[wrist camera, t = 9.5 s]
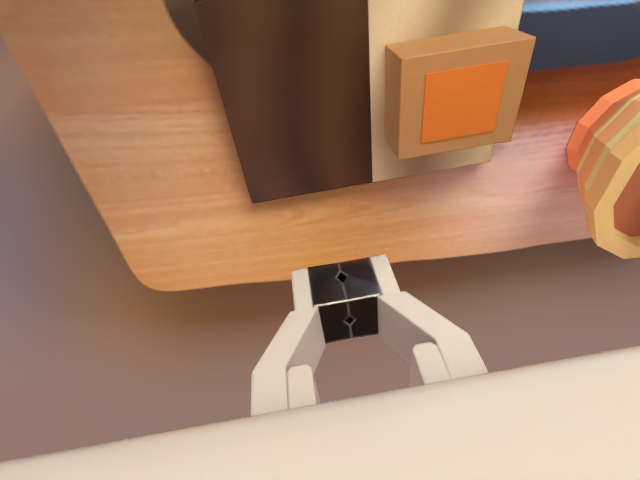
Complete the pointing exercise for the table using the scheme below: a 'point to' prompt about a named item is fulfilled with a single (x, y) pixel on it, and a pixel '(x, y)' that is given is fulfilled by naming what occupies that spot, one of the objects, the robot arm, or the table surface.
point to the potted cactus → (610, 169)
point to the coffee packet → (454, 90)
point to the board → (326, 85)
